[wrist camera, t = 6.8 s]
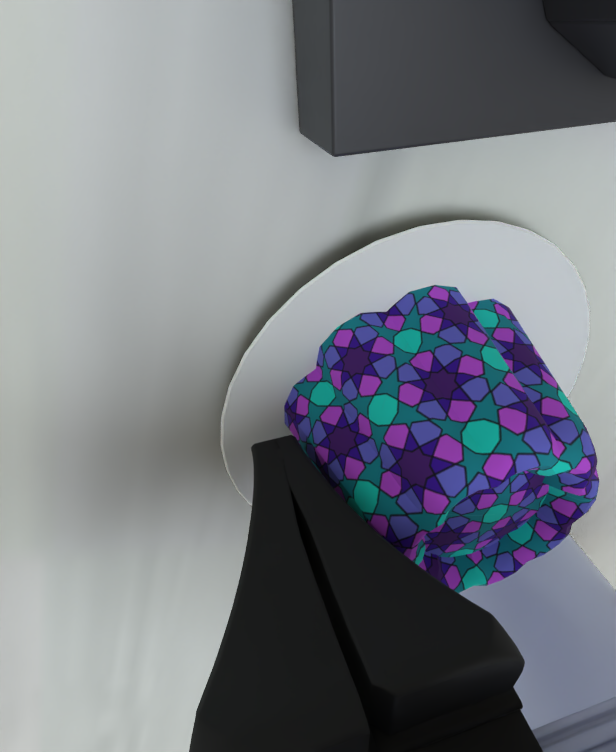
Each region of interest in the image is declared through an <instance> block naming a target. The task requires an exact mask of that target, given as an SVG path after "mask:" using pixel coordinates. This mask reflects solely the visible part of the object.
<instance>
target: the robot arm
mask: <svg viewBox="0 0 616 752" xmlns="http://www.w3.org/2000/svg"><path fill="white" fill-rule="evenodd" d="M251 451H252V456H253V466H254V487H253V501H252V512H251V520H250V527H249V534H248V541H247V546H246V552H245V557H244V562H243V567H242V571H241V576H240V580H239V584H238V588H237V592H236V596H235V599H234V603H233V607H232V610H231V614H230V617H229V621H228V624H227V627H226V630H225V633H224V636H223V639H222V642H221V645H220V649H219V652H218V655H217V658H216V661H215V663H214V666H213V669H212V672H211V674H210V677H209V679H208V682H207V685H206V687H205V690H204V692H203V695H202V698H201V700H200V703H199V706H198V708H197V711H196V718H195V723H194V728H193V733H192V738H191V744H190V750H189V752H616V590H615V589H614V588H613V586H612V585H611V584H610V583H609V582H608V580H607V579H606V578H605V577H604V576H603V574H602V573H601V572H600V571H599V570H598V568H597V567H596V566H595V565H594V564H593V562H592V561H591V560H590V559H589V558H588V556H587V555H586V554H585V553H584V551H583V550H582V549H581V548H580V547H579V545H578V544H577V543H576V542H575V541H574V539H573V538H572V537H571V536H570V535H568V536H567V537H566V538H565V539H564V540H563V541H562V542H561V543H560V544H559V545H557V546H556V547H555V548H553V549H552V550H550V551H549V552H548V553H546V554H545V555H542V556H540V557H538V558H535V559H533V560H530V561H528V562H527V563H526V564H525V565H523V566H522V567H521V568H520V569H519V570H518V571H517V572H516V573H514V574H512V575H510V576H509V577H507V578H505V579H503V580H501V581H498V582H496V583H493V584H490V585H487V586H472V587H470V588H468V589H466V590H464V591H462V592H460V593H457V592H456V591H454V590H452V589H451V588H449V587H448V586H447V585H445V584H444V583H442V582H441V581H439V580H438V579H436V578H435V577H433V576H432V575H430V574H429V573H428V572H426V571H425V570H424V569H422V568H421V567H420V566H418V565H417V564H416V563H414V562H413V561H412V560H410V559H409V558H408V557H406V556H405V555H404V554H402V553H401V552H400V551H399V550H397V549H396V548H395V547H394V546H393V545H391V544H390V543H389V542H388V541H387V540H385V539H384V538H383V537H382V536H381V535H380V534H379V533H377V532H376V531H375V530H374V529H373V528H372V527H371V526H370V525H369V524H368V523H366V522H365V521H364V520H363V519H362V518H361V517H360V516H359V515H358V514H357V513H356V512H355V511H354V510H353V509H352V508H351V507H350V506H349V505H348V504H347V503H346V502H345V500H344V499H343V498H342V497H341V496H340V495H339V494H338V493H337V492H336V491H335V489H334V488H333V487H332V486H331V485H330V484H329V482H328V481H327V480H326V479H325V478H324V477H323V475H322V474H321V473H320V472H319V470H318V469H317V468H316V467H315V465H314V464H313V463H312V461H311V460H310V459H309V457H308V456H307V454H306V453H305V452H304V450H303V449H302V447H301V446H300V444H299V442H298V441H297V439H296V437H295V436H293V435H288V436H284V437H280V438H276V439H271V440H267V441H263V442H259V443H255V444H254V445H253V446H252V447H251Z"/></svg>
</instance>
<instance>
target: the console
mask: <svg viewBox="0 0 616 752" xmlns="http://www.w3.org/2000/svg"><path fill="white" fill-rule="evenodd" d="M293 17H294V35H295V53H296V71H297V89H298V107H299V125H300V132H301V134H302V135H304V136H305V137H307V138H308V139H310V140H311V141H312V142H314V143H315V144H317V145H318V146H319V147H321V148H322V149H324V150H325V151H326V152H328V153H329V154H331V155H332V156H334V157H338V156H346V155H354V154H362V153H370V152H378V151H386V150H394V149H402V148H410V147H417V146H425V145H433V144H441V143H449V142H457V141H465V140H473V139H481V138H489V137H497V136H505V135H513V134H521V133H529V132H537V131H545V130H553V129H561V128H568V127H576V126H584V125H592V124H600V123H608V122H616V0H293Z"/></svg>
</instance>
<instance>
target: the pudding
mask: <svg viewBox="0 0 616 752" xmlns="http://www.w3.org/2000/svg"><path fill="white" fill-rule="evenodd" d="M589 336H590V308H589V303H588V298H587V293H586V288H585V285H584V283H583V281H582V279H581V277H580V275H579V273H578V271H577V269H576V267H575V265H574V264H573V263H572V262H571V261H570V260H569V258H568V257H567V256H566V255H565V254H564V253H563V252H562V251H561V250H560V249H559V248H558V247H557V246H556V245H555V244H553V243H552V242H550V241H548V240H546V239H545V238H543V237H541V236H540V235H538V234H536V233H534V232H533V231H531V230H528V229H525V228H521V227H517V226H514V225H510V224H506V223H503V222H499V221H480V220H455V221H449V222H443V223H436V224H430V225H423V226H418V227H415V228H412V229H409V230H406V231H403V232H401V233H398V234H395V235H392V236H389V237H386V238H383V239H380V240H377V241H375V242H373V243H371V244H369V245H367V246H366V247H364V248H362V249H360V250H358V251H356V252H354V253H352V254H350V255H348V256H347V257H345V258H343V259H341V260H339V261H337V262H335V263H334V264H333V265H331V266H330V267H329V268H327V269H326V270H325V271H323V272H322V273H320V274H319V275H318V276H316V277H315V278H314V279H312V280H311V281H310V282H308V283H307V284H306V285H304V286H303V287H302V288H300V289H299V290H298V291H297V292H296V293H295V294H294V295H293V296H292V297H291V298H290V299H289V300H288V301H287V302H286V303H285V304H284V305H283V306H282V307H281V308H280V309H279V310H278V311H277V312H276V313H275V314H274V315H273V316H272V317H271V318H270V319H269V320H268V321H267V323H266V324H265V326H264V327H263V328H262V330H261V331H260V333H259V334H258V335H257V337H256V338H255V340H254V341H253V342H252V344H251V345H250V347H249V348H248V349H247V351H246V352H245V354H244V356H243V358H242V360H241V362H240V364H239V366H238V368H237V370H236V372H235V375H234V377H233V379H232V381H231V383H230V385H229V388H228V392H227V396H226V400H225V404H224V408H223V412H222V416H221V450H222V455H223V459H224V463H225V467H226V471H227V473H228V475H229V477H230V479H231V480H232V482H233V484H234V486H235V488H236V490H237V491H238V493H239V494H240V495H241V496H242V497H243V498H244V499H245V500H246V501H247V502H248V503H249V504H250V505H251V507H252V501H253V487H254V466H253V456H252V451H251V447H252V446H253V445H254V444H255V443H259V442H263V441H267V440H271V439H276V438H280V437H284V436H288V435H293V436H295V437H296V439H297V441H298V442H299V444H300V446H301V447H302V449H303V450H304V452H305V453H306V454H307V456H308V457H309V459H310V460H311V461H312V463H313V464H314V465H315V467H316V468H317V469H318V470H319V472H320V473H321V474H322V475H323V477H324V478H325V479H326V480H327V481H328V482H329V484H330V485H331V486H332V487H333V488H334V489H335V491H336V492H337V493H338V494H339V495H340V496H341V497H342V498H343V499H344V500H345V502H346V503H347V504H348V505H349V506H350V507H351V508H352V509H353V510H354V511H355V512H356V513H357V514H358V515H359V516H360V517H361V518H362V519H363V520H364V521H365V522H366V523H368V524H369V525H370V526H371V527H372V528H373V529H374V530H375V531H376V532H377V533H379V534H380V535H381V536H382V537H383V538H384V539H385V540H387V541H388V542H389V543H390V544H391V545H393V546H394V547H395V548H396V549H397V550H399V551H400V552H401V553H402V554H404V555H405V556H406V557H408V558H409V559H410V560H412V561H413V562H414V563H416V564H417V565H418V566H420V567H421V568H422V569H424V570H425V571H426V572H428V573H429V574H430V575H432V576H433V577H435V578H436V579H438V580H439V581H441V582H442V583H444V584H445V585H447V586H448V587H449V588H451V589H452V590H454V591H456V592H457V593H460V592H462V591H464V590H466V589H468V588H470V587H472V586H487V585H490V584H493V583H496V582H498V581H501V580H503V579H505V578H507V577H509V576H510V575H512V574H514V573H516V572H517V571H518V570H519V569H520V568H521V567H522V566H523V565H525V564H526V563H527V562H528V561H530V560H533V559H535V558H538V557H540V556H542V555H545V554H546V553H548V552H549V551H550V550H552V549H553V548H555V547H556V546H557V545H559V544H560V543H561V542H562V541H563V540H564V539H565V538H566V537H567V536H568V535H569V533H570V529H571V525H572V523H574V522H575V521H576V520H578V519H579V518H580V517H581V516H583V515H584V514H585V513H586V512H588V510H589V509H590V507H591V506H592V504H593V503H594V501H595V500H596V496H597V491H598V485H599V478H598V474H597V470H596V465H597V457H596V453H595V449H594V446H593V444H592V441H591V439H590V436H589V434H588V431H587V429H586V427H585V425H584V424H583V422H582V421H581V419H580V418H579V416H578V415H577V413H576V411H575V410H574V408H573V407H572V405H571V404H570V402H569V400H568V399H567V398H568V396H569V394H570V392H571V391H572V389H573V387H574V385H575V382H576V380H577V377H578V375H579V372H580V370H581V367H582V365H583V362H584V359H585V354H586V350H587V345H588V341H589Z"/></svg>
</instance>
